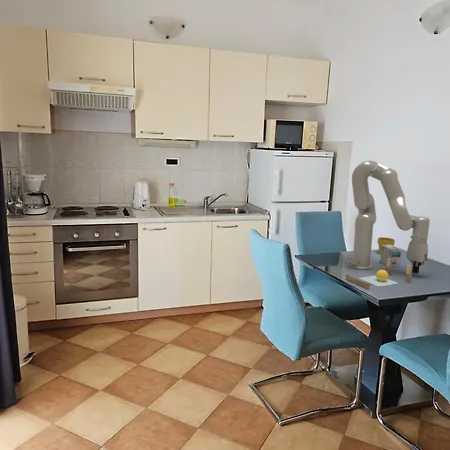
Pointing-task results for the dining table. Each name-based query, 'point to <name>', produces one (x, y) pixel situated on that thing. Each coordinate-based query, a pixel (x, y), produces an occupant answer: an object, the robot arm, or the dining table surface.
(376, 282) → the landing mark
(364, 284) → the stopper wall
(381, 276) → the ball
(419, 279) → the dining table surface
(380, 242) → the plant pot
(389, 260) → the post left
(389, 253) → the light bulb box
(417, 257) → the robot arm
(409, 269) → the post right
